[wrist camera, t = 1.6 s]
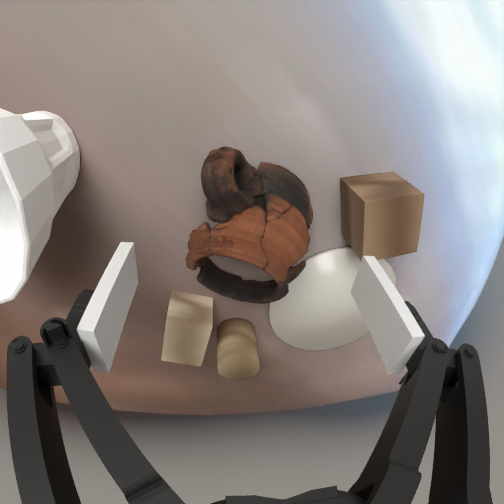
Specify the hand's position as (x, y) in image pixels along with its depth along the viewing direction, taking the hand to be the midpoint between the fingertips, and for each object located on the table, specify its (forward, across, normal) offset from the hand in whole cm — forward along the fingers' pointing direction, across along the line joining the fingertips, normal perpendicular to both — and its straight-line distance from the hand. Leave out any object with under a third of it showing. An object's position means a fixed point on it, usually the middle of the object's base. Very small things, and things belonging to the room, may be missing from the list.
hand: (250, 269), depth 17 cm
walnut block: (+9, +10, +2) cm, 14 cm away
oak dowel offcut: (+8, 0, -14) cm, 16 cm away
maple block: (+8, -5, -12) cm, 15 cm away
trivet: (+8, +10, -10) cm, 17 cm away
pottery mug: (+9, 0, 0) cm, 9 cm away
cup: (+8, -18, +4) cm, 20 cm away
